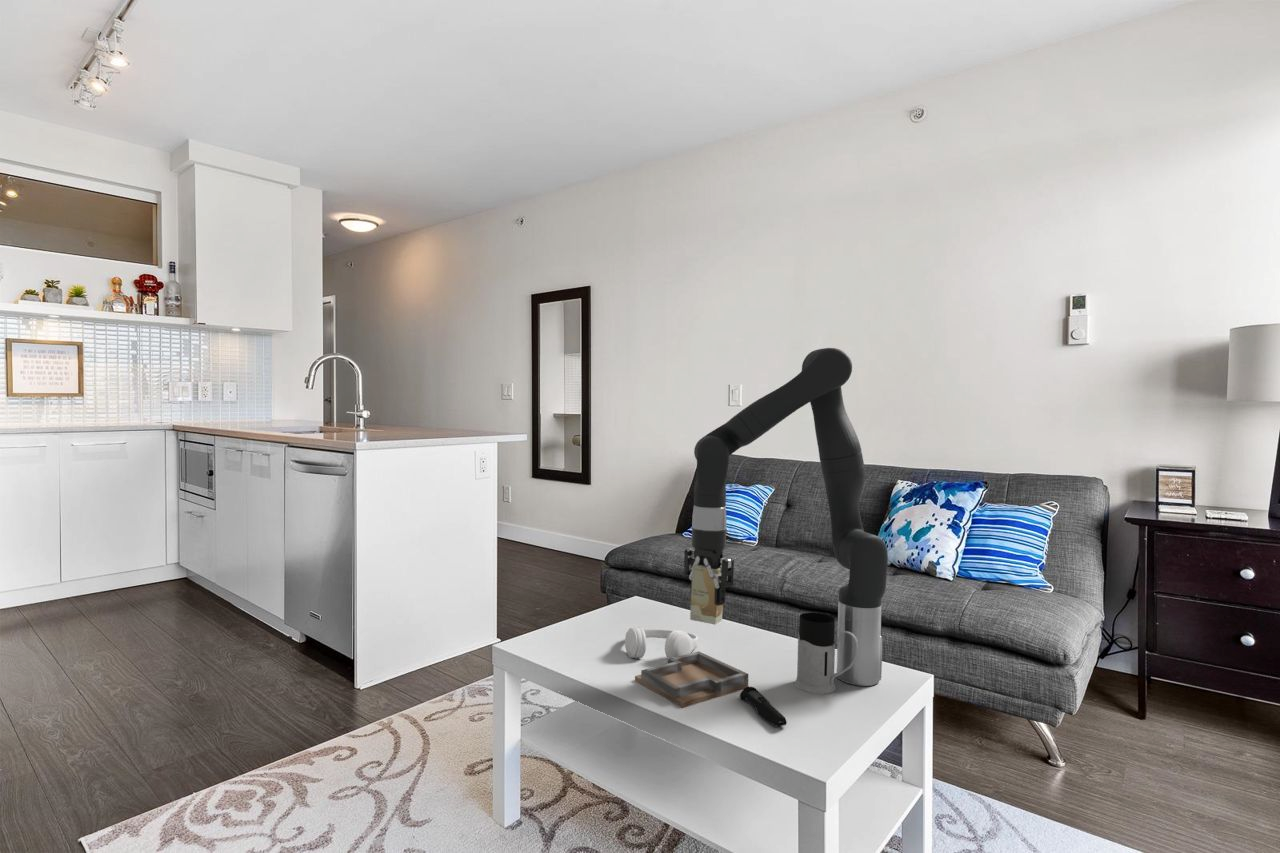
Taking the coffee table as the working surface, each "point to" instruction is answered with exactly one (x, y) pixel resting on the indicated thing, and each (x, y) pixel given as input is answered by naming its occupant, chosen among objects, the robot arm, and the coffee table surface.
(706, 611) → the skincare box
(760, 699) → the electric trimmer
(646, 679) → the keyhole board
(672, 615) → the coffee table surface
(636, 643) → the headphones
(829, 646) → the glass holder
